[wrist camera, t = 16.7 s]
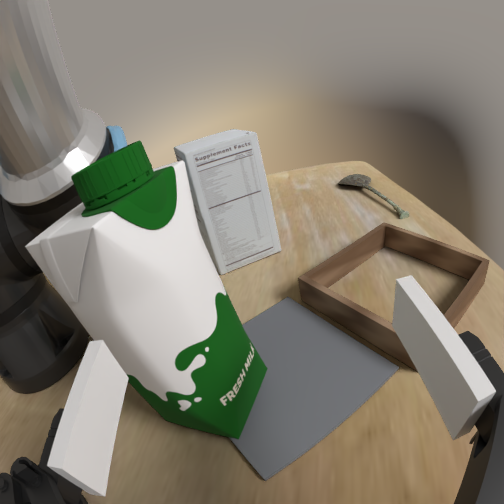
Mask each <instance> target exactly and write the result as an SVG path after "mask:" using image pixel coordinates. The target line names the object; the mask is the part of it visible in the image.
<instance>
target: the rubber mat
mask: <svg viewBox="0 0 504 504" xmlns="http://www.w3.org/2000/svg"><path fill="white" fill-rule="evenodd" d="M242 326H243V328H244V330H245V332H246V334H247V335H248V337H249V339H250V340H251V342H252V344H253V345H254V347H255V349H256V350H257V352H258V354H259V355H260V357H261V359H262V360H263V362H264V364H265V365H266V367H267V368H268V369H267V372H266V374H265V377H264V379H263V382H262V384H261V387H260V389H259V392H258V394H257V397H256V399H255V402H254V404H253V407H252V409H251V412H250V414H249V416H248V419H247V421H246V424H245V426H244V428H243V431H242V433H241V435H240V438H239V439H235V438H230V437H229V438H230V439H231V440H232V442H233V443H234V444H235V445H236V447H237V448H238V449H239V450H240V452H241V453H242V454H243V455H244V456H245V458H246V459H247V460H248V461H249V462H250V464H251V465H252V466H253V467H254V468H255V470H256V471H257V472H258V473H259V474H260V475H261V476H262V478H263V479H264V480H265V481H266V480H267V479H269V478H270V477H272V476H273V475H275V474H276V473H278V472H279V471H281V470H282V469H284V468H285V467H286V466H288V465H289V464H291V463H292V462H293V461H295V460H296V459H297V458H299V457H300V456H302V455H303V454H304V453H306V452H307V451H308V450H309V449H311V448H312V447H313V446H315V445H316V444H317V443H318V442H320V441H321V440H322V439H323V438H325V437H326V436H327V435H328V434H330V433H331V432H332V431H333V430H334V429H336V428H337V427H338V426H339V425H340V424H341V423H343V422H344V421H345V420H346V419H347V418H348V417H349V416H351V415H352V414H353V413H354V412H355V411H356V410H357V409H358V408H359V407H361V406H362V405H363V404H364V403H365V402H366V401H367V400H368V399H369V398H370V397H371V396H372V395H373V394H374V393H375V392H376V391H377V390H378V389H379V388H380V387H381V386H382V385H383V384H384V383H385V382H386V381H387V380H388V379H389V378H390V377H391V376H392V375H393V374H394V373H395V372H396V371H397V370H398V369H399V367H398V366H397V365H395V364H393V363H392V362H390V361H388V360H387V359H385V358H384V357H382V356H380V355H379V354H377V353H376V352H374V351H372V350H371V349H369V348H368V347H366V346H365V345H363V344H361V343H360V342H358V341H357V340H355V339H353V338H352V337H350V336H349V335H347V334H346V333H344V332H342V331H341V330H339V329H338V328H336V327H334V326H333V325H331V324H330V323H328V322H327V321H325V320H324V319H322V318H320V317H319V316H317V315H316V314H314V313H313V312H311V311H309V310H308V309H306V308H305V307H303V306H302V305H300V304H299V303H297V302H295V301H294V300H292V299H291V298H289V297H287V298H285V299H283V300H282V301H280V302H279V303H277V304H276V305H274V306H272V307H271V308H269V309H267V310H266V311H264V312H263V313H261V314H259V315H258V316H256V317H255V318H253V319H251V320H250V321H248V322H246V323H245V324H243V325H242Z"/></svg>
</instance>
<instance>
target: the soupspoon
mask: <svg viewBox="0 0 504 504" xmlns="http://www.w3.org/2000/svg"><path fill="white" fill-rule="evenodd" d="M370 182H371V178H369V177H368V176H365V175H361V174H354V175H349V176H347V177H345V178H343V179H342V180H341V181H340V182H339V183H338V184H348V185H355V186H361V187H364V188H366V189H368V190H370V191H372V192H374V193H375V194H377V195H378V196H380V197H381V198H383V199H384V200H385V201H387V202H388V203H389V204H391V205H392V206H393V207H394V209H395V210H396V211H397V213H398V214H399V216H400V219H404V218H407V217H408V216H409V213H408V212H407V211H403V210H402V209H401V208H399V206H398V205H396V204H395V203H393V202H392V201H391V200H390V199H388V198H387V197H386V196H384V195H383V194H381V193H380V192H378V191H377V190H375V189H374V188H372V187H370V186H368V184H369V183H370Z"/></svg>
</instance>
